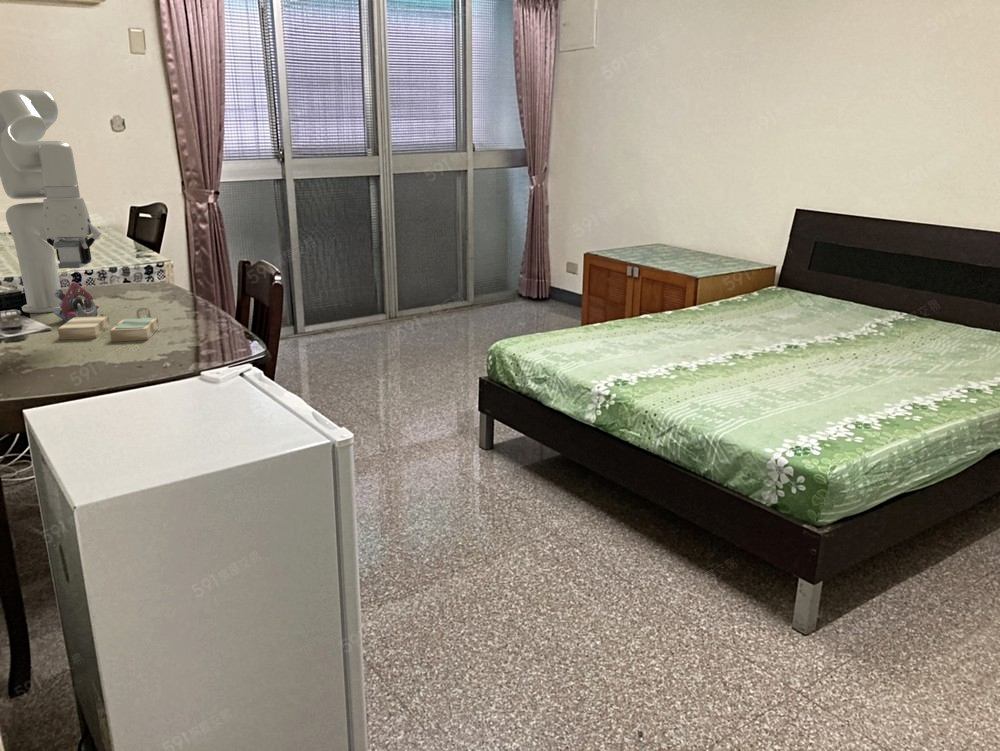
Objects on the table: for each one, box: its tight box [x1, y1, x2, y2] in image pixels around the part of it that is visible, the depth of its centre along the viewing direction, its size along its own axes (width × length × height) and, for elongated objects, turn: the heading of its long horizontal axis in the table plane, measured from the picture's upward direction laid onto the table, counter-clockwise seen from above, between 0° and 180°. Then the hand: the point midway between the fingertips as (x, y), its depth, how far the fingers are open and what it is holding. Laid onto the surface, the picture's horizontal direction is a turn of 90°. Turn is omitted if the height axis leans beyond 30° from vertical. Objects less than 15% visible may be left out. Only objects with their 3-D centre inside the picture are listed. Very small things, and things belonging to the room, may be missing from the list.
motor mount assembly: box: [52, 281, 100, 323], centre depth 220 cm, size 11×11×12 cm
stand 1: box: [57, 315, 111, 341], centre depth 207 cm, size 12×9×3 cm
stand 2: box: [109, 317, 160, 342], centre depth 205 cm, size 12×9×3 cm
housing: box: [54, 238, 92, 269], centre depth 200 cm, size 9×5×7 cm, turn 9°
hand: (75, 262), depth 201 cm, fingers closed on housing, 5 cm apart
